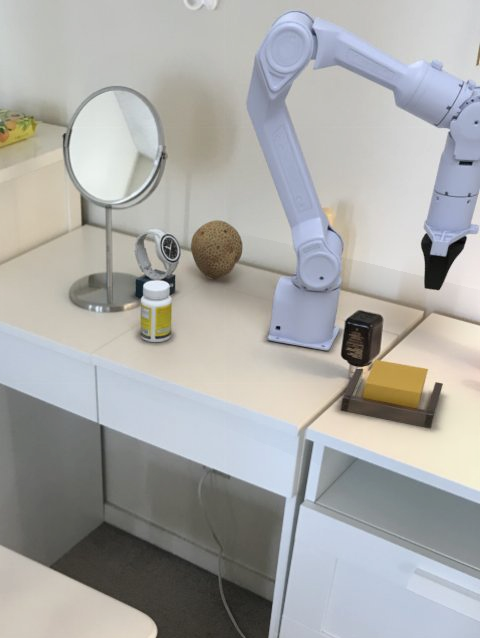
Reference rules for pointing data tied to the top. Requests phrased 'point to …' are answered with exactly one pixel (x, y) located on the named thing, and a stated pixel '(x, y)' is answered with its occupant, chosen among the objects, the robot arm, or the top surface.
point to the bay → (389, 405)
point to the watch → (167, 255)
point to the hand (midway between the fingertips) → (432, 287)
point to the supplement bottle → (156, 311)
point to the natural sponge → (216, 248)
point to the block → (395, 383)
